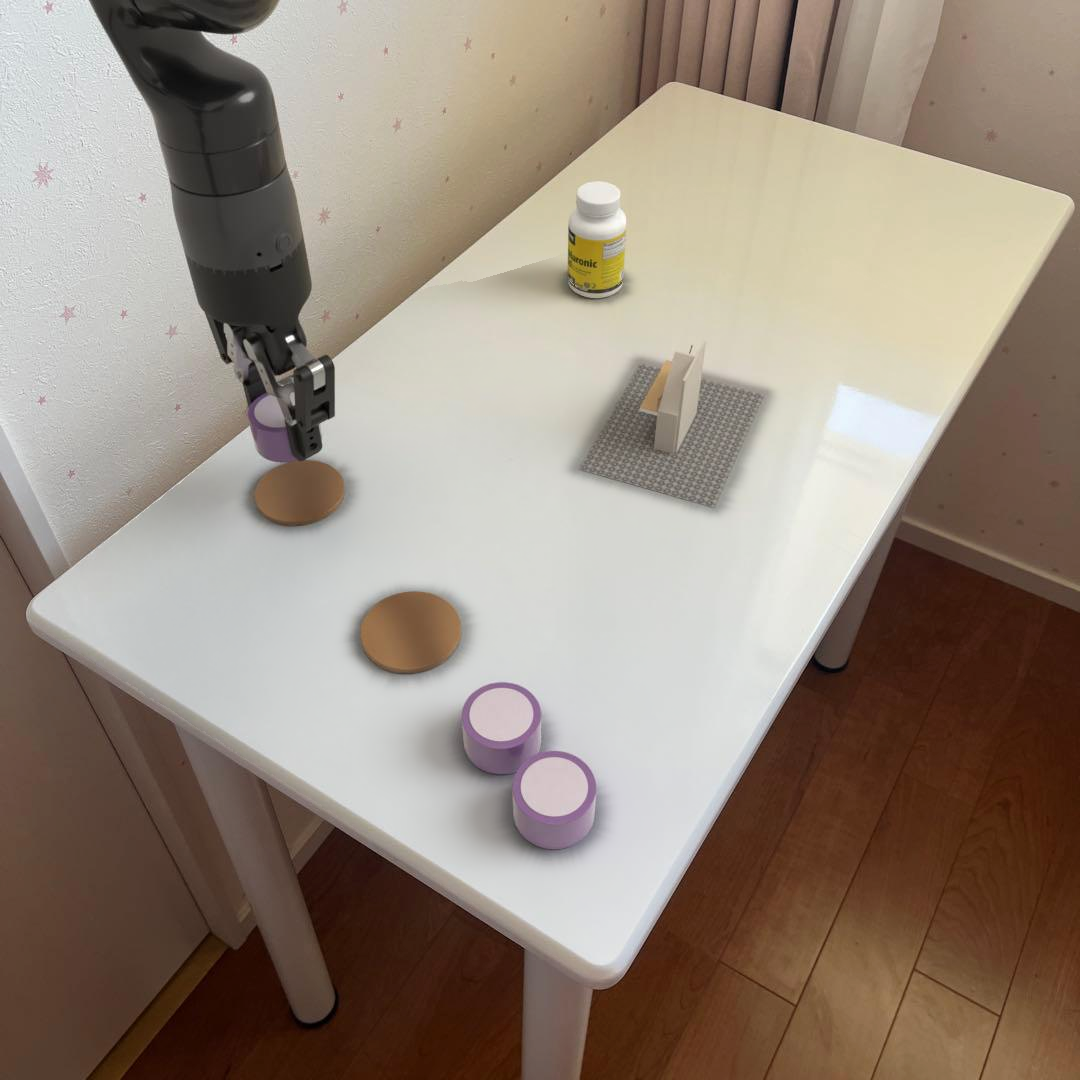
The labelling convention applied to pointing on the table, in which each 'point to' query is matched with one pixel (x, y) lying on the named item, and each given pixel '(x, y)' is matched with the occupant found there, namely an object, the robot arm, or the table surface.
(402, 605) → the brown wooden coaster
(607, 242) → the supplement bottle
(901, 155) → the table surface
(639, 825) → the table surface
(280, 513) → the coaster far
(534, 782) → the purple rimmed puck
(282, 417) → the purple short cylinder
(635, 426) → the architectural model
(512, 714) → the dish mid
